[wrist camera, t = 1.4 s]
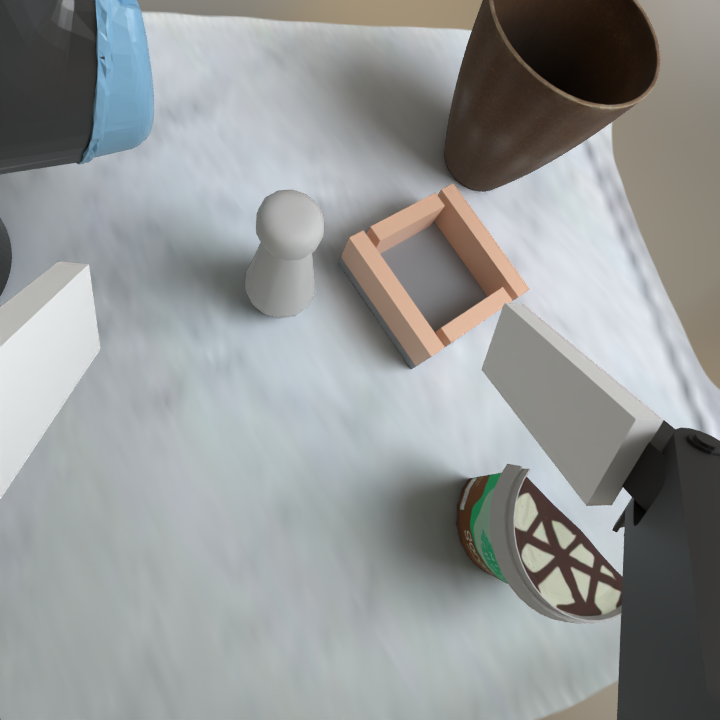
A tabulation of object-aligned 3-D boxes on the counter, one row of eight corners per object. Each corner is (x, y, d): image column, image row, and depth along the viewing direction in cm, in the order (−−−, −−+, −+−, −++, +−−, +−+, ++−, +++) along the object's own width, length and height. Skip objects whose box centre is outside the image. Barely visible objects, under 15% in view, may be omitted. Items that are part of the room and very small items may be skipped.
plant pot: (541, 131, 52) (661, -9, 37) (532, 241, 48) (663, 133, 33) (422, 86, 49) (499, -85, 34) (401, 198, 45) (479, 60, 30)
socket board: (338, 262, 42) (349, 237, 37) (433, 211, 46) (453, 183, 41) (411, 369, 41) (431, 356, 36) (501, 307, 45) (529, 289, 40)
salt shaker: (304, 261, 41) (328, 169, 29) (317, 320, 40) (349, 251, 27) (238, 269, 39) (235, 175, 27) (251, 330, 38) (253, 262, 26)
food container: (413, 519, 37) (469, 534, 28) (457, 466, 40) (524, 463, 30) (515, 626, 37) (606, 677, 28) (554, 567, 39) (651, 596, 30)
